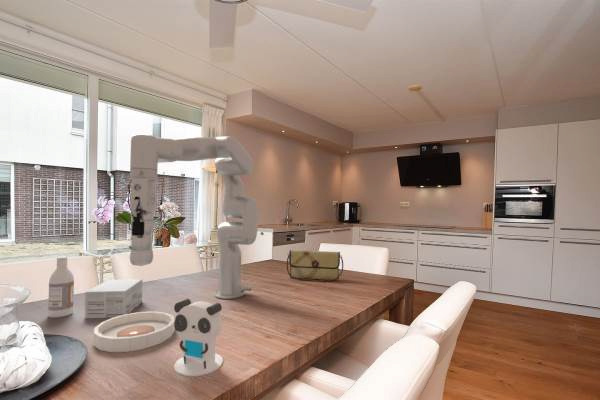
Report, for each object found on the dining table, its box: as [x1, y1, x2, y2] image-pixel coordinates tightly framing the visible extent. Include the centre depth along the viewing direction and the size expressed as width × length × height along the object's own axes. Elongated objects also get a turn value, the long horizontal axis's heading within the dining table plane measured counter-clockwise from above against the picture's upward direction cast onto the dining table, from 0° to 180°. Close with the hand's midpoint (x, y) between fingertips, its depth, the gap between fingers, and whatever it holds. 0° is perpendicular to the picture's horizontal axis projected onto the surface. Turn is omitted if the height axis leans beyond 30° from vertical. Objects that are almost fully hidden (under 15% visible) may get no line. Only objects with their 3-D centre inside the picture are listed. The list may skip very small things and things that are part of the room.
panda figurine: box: [173, 298, 223, 377], centre depth 78 cm, size 12×11×15 cm
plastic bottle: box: [129, 210, 155, 267], centre depth 97 cm, size 6×7×20 cm
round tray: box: [93, 311, 176, 353], centre depth 94 cm, size 21×21×4 cm
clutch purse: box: [286, 249, 344, 283], centre depth 167 cm, size 30×7×15 cm, turn 83°
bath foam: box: [47, 256, 75, 319], centre depth 111 cm, size 7×7×20 cm
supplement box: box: [84, 278, 143, 319], centre depth 117 cm, size 17×13×9 cm
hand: (142, 233), depth 97 cm, fingers closed on plastic bottle, 6 cm apart
